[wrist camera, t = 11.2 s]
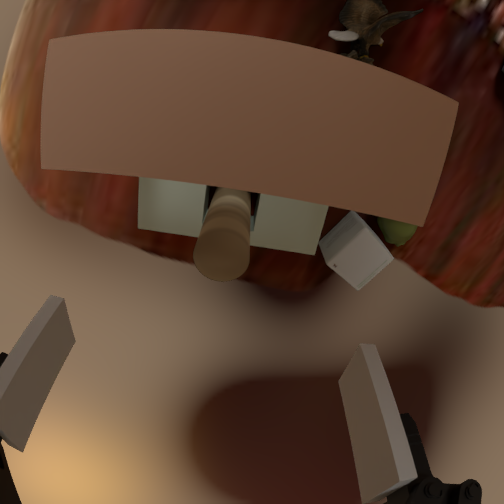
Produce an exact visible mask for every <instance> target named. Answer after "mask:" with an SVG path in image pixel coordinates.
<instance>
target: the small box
mask: <svg viewBox="0 0 504 504" xmlns="http://www.w3.org/2000/svg"><path fill="white" fill-rule="evenodd" d="M318 244H319V246H320V249H321V251H322V254H323V257H324V259H325V262H326V264H327V265H328V266H329V267H330V268H331V269H333V270H334V271H335V272H336V273H337V274H339V275H340V276H341V277H342V278H343V279H344V280H346V281H347V282H348V283H349V284H350V285H352V286H353V287H354V288H355V289H356V290H357V291H359V290H360V289H361V288H362V287H364V286H365V285H366V284H367V283H368V282H369V281H370V280H371V279H372V278H374V277H375V276H376V275H377V274H378V273H379V272H380V271H381V270H383V269H384V268H385V267H386V266H387V265H388V264H389V263H390V262H391V261H392V260H394V258H393V256H392V255H391V253H390V252H389V250H388V249H387V248H386V246H385V245H384V244H383V242H382V241H381V240H380V238H379V237H378V236H377V235H376V234H375V233H374V231H373V230H372V229H371V228H370V227H369V226H368V225H367V223H366V222H365V221H364V220H363V219H362V218H361V217H360V216H359V215H358V214H357V213H356V212H355V211H350V212H349V213H348V214H347V215H346V216H345V217H344V218H343V219H342V220H341V221H340V222H339V223H338V224H337V225H336V226H335V227H334V228H333V229H332V230H331V231H330V232H329V233H327V234H326V235H325V236H324V237H323V238H322V239H321V240H320V241H319V242H318Z"/></svg>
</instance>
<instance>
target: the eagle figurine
mask: <svg viewBox="0 0 504 504" xmlns="http://www.w3.org/2000/svg"><path fill="white" fill-rule="evenodd" d="M422 11H423V9H421V10H416V11H401V12H394V13H392V14H388V15H386V16H384V17H382V18H381V19H378V18H379V17H380V16H383V15H384V14H387V13H388V10H387V9H386V6H385V5H383V4H382V1H381V0H348V1H347V2H346V5H345V6H344V7H343V10H341V12H340V13H339V14H340V15H339V21H340V23H342V24H343V25H344V26H346V29H347V31H330V32H329V34H328V36H330V37H331V38H333V39H335V40H337V41H351V47H350V48H351V50H350V52H351V53H349V54H347V53H341V54H340V55H342V56H346V57H349V58H352V59H355V60H358V61H361V62H364V63H367V64H370V65H373V63H372V62H373V61H374V59H372V58H369V57H368V55H369V51H368V49H369V46H370V45H371V44H372V45H377V44H379V45H380V46H382V43H383V42H384V41H383V39H382V38H381V35H382V34H383V33H384V31H386V30H387V29H388V28H390V27H392V26H394V25H396V24H398V23H400V22H401V21H403V20H407V19H410V18H412V17H414V16H415V15H417V14H419V13H421V12H422ZM377 19H378V20H377ZM358 50H359V54H358V53H357V51H358ZM373 66H374V65H373Z"/></svg>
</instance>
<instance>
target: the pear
mask: <svg viewBox="0 0 504 504" xmlns="http://www.w3.org/2000/svg"><path fill="white" fill-rule="evenodd" d="M377 222H378V226H379V228H380V230H381V231H382V233H383V235H384V238H385V241H386V242H388V243H391V244H394V243H395V245H396V246H397V247H398V246H400V245H404V243H406V241H407V240H409V239H410V238H411V237H412V236H413V234H414V233H415V231H416V228H417V225H413V224H409V223H405V222H400V221H396V220H392V219H388V218H383V217H379V216H378V218H377Z"/></svg>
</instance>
